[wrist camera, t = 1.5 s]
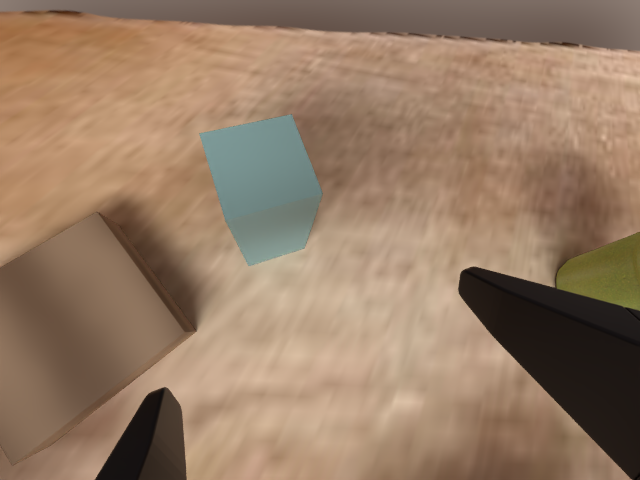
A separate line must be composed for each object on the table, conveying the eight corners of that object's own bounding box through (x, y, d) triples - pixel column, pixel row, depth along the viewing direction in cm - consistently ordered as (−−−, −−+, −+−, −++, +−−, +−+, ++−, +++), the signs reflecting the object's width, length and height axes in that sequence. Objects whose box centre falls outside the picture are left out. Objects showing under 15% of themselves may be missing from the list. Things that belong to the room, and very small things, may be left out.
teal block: (286, 198, 24) (291, 114, 14) (304, 248, 23) (322, 193, 13) (232, 213, 23) (199, 133, 13) (248, 266, 22) (225, 220, 12)
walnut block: (120, 226, 22) (96, 211, 19) (198, 331, 20) (184, 332, 18) (-23, 314, 19) (-77, 312, 16) (55, 442, 18) (12, 465, 15)
